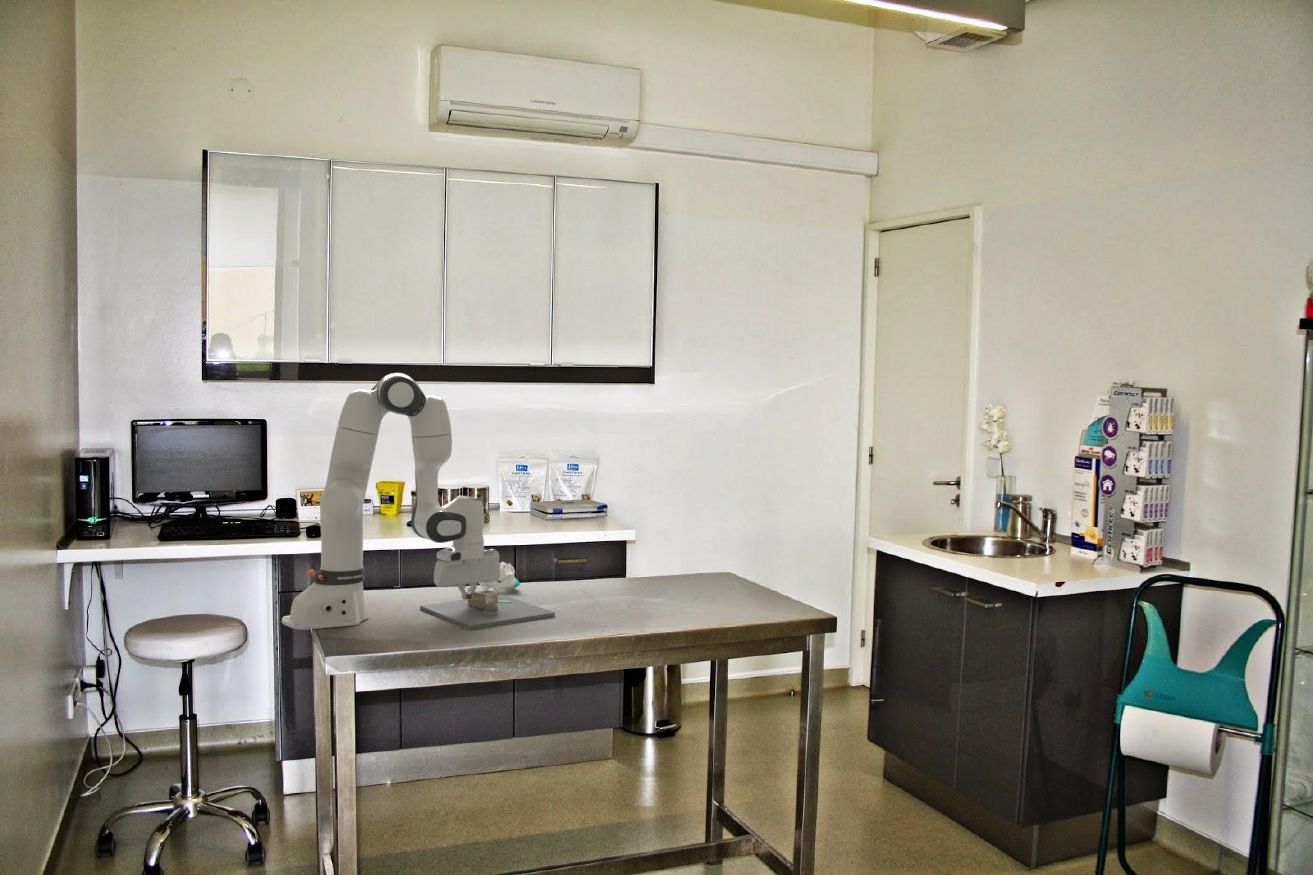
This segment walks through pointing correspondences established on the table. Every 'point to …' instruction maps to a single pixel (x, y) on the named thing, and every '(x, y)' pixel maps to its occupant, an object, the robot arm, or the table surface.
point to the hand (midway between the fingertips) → (467, 598)
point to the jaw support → (502, 579)
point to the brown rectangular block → (485, 601)
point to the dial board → (486, 613)
